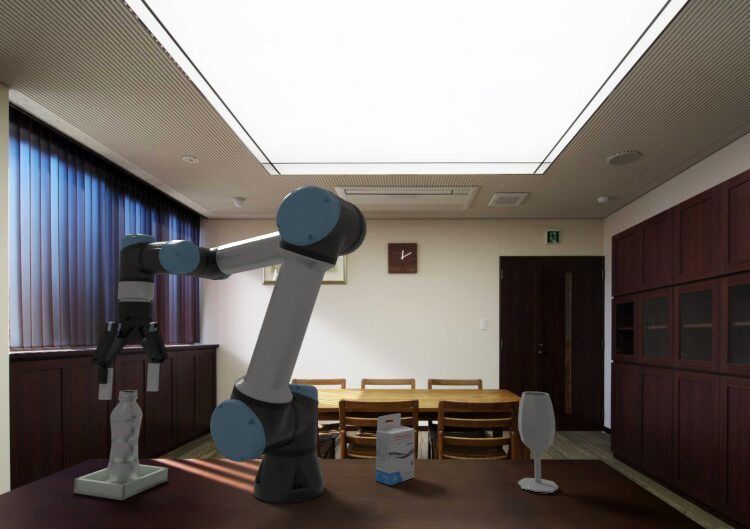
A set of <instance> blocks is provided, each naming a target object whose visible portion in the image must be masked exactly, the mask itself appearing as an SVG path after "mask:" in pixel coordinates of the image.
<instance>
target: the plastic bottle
mask: <svg viewBox="0 0 750 529" xmlns="http://www.w3.org/2000/svg"><path fill="white" fill-rule="evenodd" d="M118 395H119V396H118V401H119V402H118V403H117V404H116V406H115V407H114V408H113V410H112V411H111V413H110V420H109V421H110V430H111V432H110V433H111V448H110V453H109V460H108V461H109V462H108V464H107V467H106V468H107V472H106V476H107V481H108V482H110V483H117V484H125V483H128V482H130V481H133V480H135V479H137V477H138V475H139V471H140V467H139V464H140V460H139V437H140V430H141V425H142V419H143V410H142V409H141V406H140V405H139V404H138V402H137V399H138V398H139V397H138V390H137V389H127V390H120V391H119V394H118Z"/></svg>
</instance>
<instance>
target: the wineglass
mask: <svg viewBox="0 0 750 529" xmlns="http://www.w3.org/2000/svg"><path fill="white" fill-rule="evenodd" d="M517 415H518V416H517V421H518V422H517V423H518V424H517V426H518V427H517V428H518V431H519V435H520V439H521V441H522V443H523V444H524V445H525V446H526V447H527V448H528V449H529V450H530V451H531V452H532V453H533V455H534V456H533V457H534V458H533V459H534V464H533V465H534V466H533V467H534V477H524V478H522V479H519V480H518V481H517V482H518V483H517V484H518V486H519V485H520V486H521V487H520V486H519V487H520V489H521V490H522V489H525V490H524V491H526V490H530V491H534V492H547V493H546V494H548V492H549V493H553V492H554V491H556V490H557V489H558V488H559V486H558V485H557V484H556V482H555V481H553V480H548V479H543V478H542V466H541V465H542V463H541V455H542V454H543V453H544V452H545V451H546V450H547V449H549V448H550V447H551V446H552V445H553V444H554V440H555V439H554V438H555V435H556V417H555V411H554V407H553V403H552V399H551V396H550V394H549V393H547V392H542V391H523V392H522V393H521V397H520V400H519V408H518V414H517ZM558 490H559V489H558ZM558 490H557V491H558ZM530 491H529V492H530ZM557 491H556V492H557ZM534 492H533V493H534ZM554 493H555V492H554ZM554 493H553V494H554Z"/></svg>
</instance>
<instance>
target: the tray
mask: <svg viewBox="0 0 750 529" xmlns="http://www.w3.org/2000/svg"><path fill="white" fill-rule="evenodd" d="M139 467H140V471H139V475H138V477H137V479H135V480H133V481H130V482H128V483H125V484H117V483H110V482H108V481H107V476H106V472H107V467H105V468H103V469H100V470H97V471H94V472H91V473H87V474H85V475H83V476H79V477H76V478H74V481H73V482H74V483H73V484H74V485H73V494H79V495H87V496H92V497H98V498H105V499H111V500H116V501H123V500H126V499H128V498H131V497H134V496H135V495H138V494H139V493H142V492H145V491H146V490H149V489H151V488H154V487H157V486H158V485H161V484H163V483H166V482H167V481H168V472H169V467H163V466H155V465H148V464H140V463H139Z"/></svg>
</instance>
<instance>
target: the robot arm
mask: <svg viewBox="0 0 750 529" xmlns="http://www.w3.org/2000/svg"><path fill="white" fill-rule="evenodd" d="M275 225H276V227H277V231H275V232H270V233H267V234H262V235H258V236H255V237H250V238H247V239H243V240H238V241H233V242H230V243H226V244H222V245H219V246H215V247H214V246H213V247H209V248H208V247H203V246H197V245H196V244H194V243H193V242H192V241H191V240H188V239H173V240H167V241H157V238H156V237H154V236H153V235H149V234H142V233H137V234H135V233H130V234H129V233H128V234H125V235H124V236H123V237H122V238H121V244H120V245H121V246H120V250H119V270H118V272H119V273H118V289H117V299H118V300H120V301H118V303H117V304H116V315H115V316H116V318H118V321H106V322H105V326H104V331H103V334H102V336H101V338H100V340H99V342H98V344H97V346H96V348H95V351H94V353H93V355H92V357H91V359H90V361H89V365H90V366H91V367H93V368H94V369H97V370H98V371H97V384H98V385H99V387H98V400H102V401H103V400H104V401H109V400H112V393H113V381H114V380H113V379H114V368H113V367H111V366H112V365H113V363H114V362H115V361H116V359H117V357H118V356H119V354H120V353H121V352H122V350H124V347H125V346H126V345H127V344H129V343H134V342H137V343H139V344H140V346H141V347H142V348H143V350H144V352H145V355H147V357H148V359H149V360H150V362H149V363H147V381H146V392H159V384H160V383H159V382H160V376H161V369H162V367H161V365H162V364H164V363H165V362H166V361H167V360H168V358H169V356H168V355H169V354H168V353H167V349H166V345H165V342H164V339H163V336H162V333H161V323H160V322H159V321H156V322H155V321H153V322H152V321H151V322H150V319H151V318H153V315H154V314H153V313H154V303H153V302H152V301H153V300H154V299H155V278H156V277H155V276H157V275H176V276H183V277H192V278H197V279H198V278H199V279H206V280H207V279H208V280H211V281H223V280H227V279H229V278H231V276H233V275H234V274H239V273H243V272H249V271H253V270H258V269H262V268H267V267H272V266H277V265H280V268H279V269H278V274H277V276H276V280H275V283H274V286H273V288H272V289H273V290H272V292H271V295H270V299H269V302H268V304H267V307H266V311H265V314H264V317H263V320H262V324H261V327H260V329H259V332H258V335H257V340H256V342H255V346H254V348H253V352H252V355H251V359H250V361H249V364H248V368H247V371H246V374H245V375H243V376H241V377H239V378H237V379H236V380H235V382H234V385H233V388H232V391H231V394H230V397H229V398H227V399H225V400H223V401H222V402H221V403H219V404H218V405H217V406H216V407H215V409H213V412H212V414H211V418H210V424H209V426H210V427H209V428H210V434H211V435H210V436H211V438H212V441H214V446H215V447H216V449H217V451H218V452H219V453H220V454H221V455H222V456H223V457H225V458H226V459H227V460H229V461H232V462H237V463H243V462H247V461H252V460H256V459H259V458H260V457H262V458H261V461H260V463H259V467H258V469H257V472H256V476H255V478H254V481H253V495H254V497H256V498H257V499H258V500H261V501H263V502H268V503H275V504H293V503H295V504H296V503H301V502H306V501H309V500H312V499H315V498H318V497H319V496H320V495H322V494H323V492H324V490H325V488H324V486H325V485H324V484H325V479H324V474H323V471H322V468H321V465H320V461H319V457H318V452H317V450H318V448H317V447H318V446H317V445H318V419H319V405H320V400H319V392H318V388H317V386H314V385H311V384H302V383H300V384H299V383H290V382H291V379H292V376H293V373H294V370H295V368H296V364H297V360H298V357H299V355H300V351H301V349H302V346H303V342H304V339H305V336H306V332H307V329H308V326H309V323H310V321H311V320H310V319H311V317H312V314H313V311H314V309H315V308H314V307H315V304H316V301H317V298H318V296H319V292H320V289H321V287H322V284H323V281H324V276H325V273H326V272H327V271H329V270H331V269H333V268H335V267H336V265H337V261H338V259H339V257H344V256H348V255H350V254H352V253H354V252H356V250H358V249H359V248H360V247H361V246H362V245H363V243H364V240H365V239H366V235H367V227H368V226H367V221H366V218H365V215H364V214H363V212H362V211H361V210H360V208H359V207H358V206H356V205H355V204H354V203H352V202H351V201H347V200H345V199H344V198H342V197H340V196H339V195H337V194H335V193H334V192H332V191H330V190H327V189H325V188H322V187H319V186H315V185H305V186H301V187H298V188H296V189H295V190H293V191H291V192H289V193H288V194H287V195H286V196H285V197H284V198H283V199H282V201H281V202H280V204H279V206H278V209H277V211H276V216H275ZM110 367H111V368H110Z"/></svg>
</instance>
